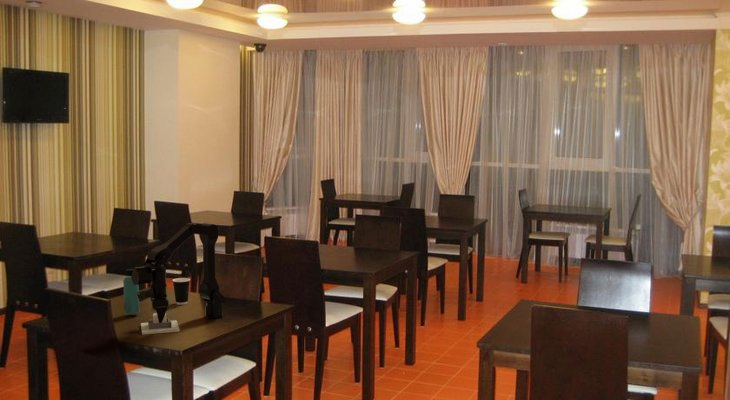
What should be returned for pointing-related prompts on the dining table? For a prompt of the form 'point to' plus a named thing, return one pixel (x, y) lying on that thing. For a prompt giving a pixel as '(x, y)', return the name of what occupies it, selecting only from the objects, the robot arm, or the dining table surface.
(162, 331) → the header board
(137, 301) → the beverage bottle
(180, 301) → the dixie cup
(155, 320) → the plug
